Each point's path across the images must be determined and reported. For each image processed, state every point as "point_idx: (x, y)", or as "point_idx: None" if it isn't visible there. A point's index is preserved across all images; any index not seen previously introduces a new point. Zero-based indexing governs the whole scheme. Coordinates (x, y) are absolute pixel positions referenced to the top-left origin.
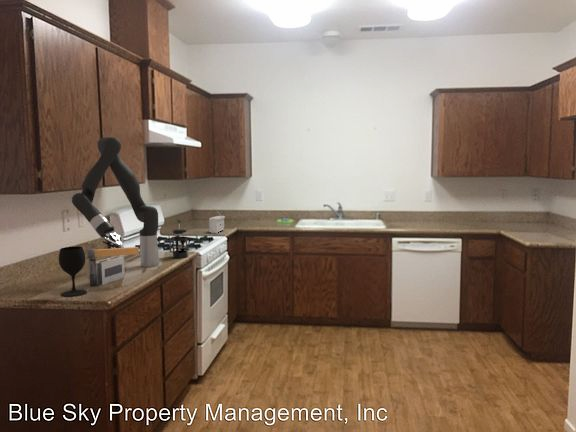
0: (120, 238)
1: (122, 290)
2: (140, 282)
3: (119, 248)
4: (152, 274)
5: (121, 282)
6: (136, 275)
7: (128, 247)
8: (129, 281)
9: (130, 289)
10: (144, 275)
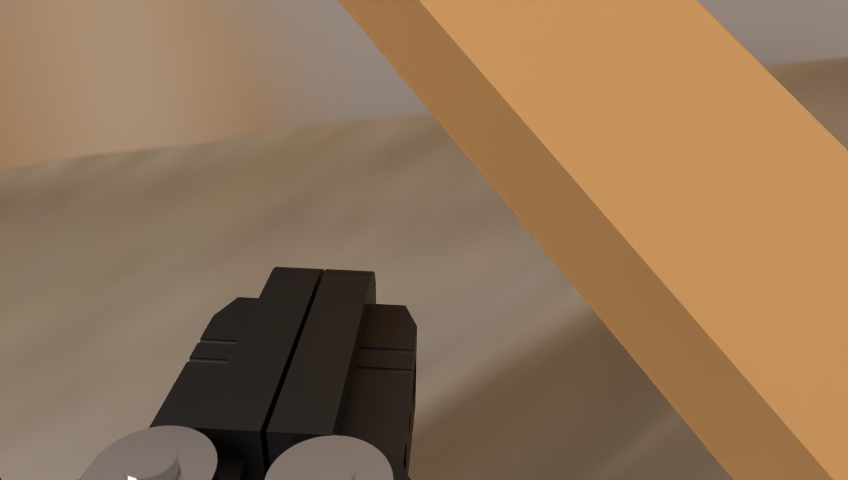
0: None
1: (843, 125)
2: (449, 139)
3: (708, 193)
4: (7, 229)
5: (511, 375)
6: (84, 417)
7: (435, 19)
8: (435, 302)
9: (771, 68)
10: (74, 302)
